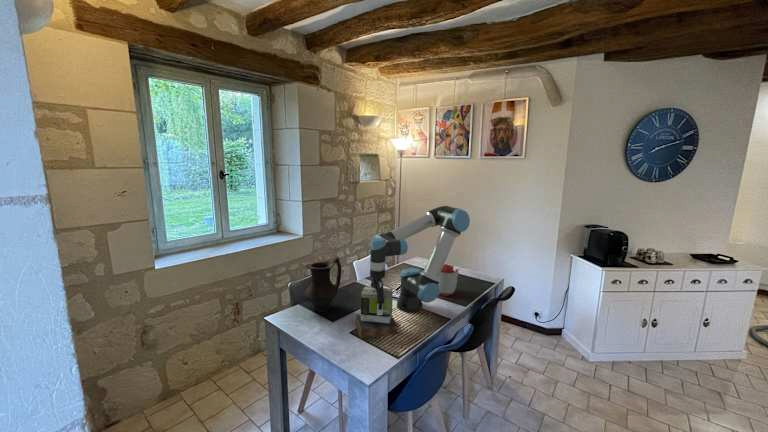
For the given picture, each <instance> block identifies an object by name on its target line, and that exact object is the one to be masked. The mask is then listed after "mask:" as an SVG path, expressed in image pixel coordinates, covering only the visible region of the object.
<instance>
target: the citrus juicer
mask: <svg viewBox="0 0 768 432" xmlns="http://www.w3.org/2000/svg"><path fill="white" fill-rule="evenodd" d="M458 276H460V274H459V269H455V270H454V266H453V265H451V264H447V263H446V264H445V263H444V265H443V268H442V270H441V272H440V274H439V277H438V278H439V284H438V286H439V290H440V292H439V295H438V296H441V295H443V296H442V297H450V296H449V295H451V296H453V295H454V293H455V291H456V288H457V284H458ZM452 294H453V295H452Z"/></svg>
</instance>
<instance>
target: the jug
mask: <svg viewBox="0 0 768 432" xmlns="http://www.w3.org/2000/svg"><path fill="white" fill-rule="evenodd" d="M335 265H337V273H336V282H335V283H334V284H333V283H332V281H331V270H332V268H333V267H334V266H335ZM305 267H306V269H309V270H310V273H311V283H310V285H309V286H308V287H307V288H306V289H305V292H304V296H305V298H306V299H307V300H308V301H309V302H310V303H311V310H312V311H314V312H318V313H322V312H327V311H329V310H330V309H331V308H332V305H331V303H332V301H333V300H334V299H335V298H336V297H337V295H338V289H339V288H340V285H341V280H342V279H341V278H342V265H341V262H340V258H339V256H336V257H334V259H332V260H327V259H326V260H324V259H322V260H320V259H319V260H314V261H311V262H308V263H307V264H306V265H305Z"/></svg>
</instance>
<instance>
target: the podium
mask: <svg viewBox="0 0 768 432" xmlns="http://www.w3.org/2000/svg"><path fill="white" fill-rule="evenodd" d="M355 326H356V328H357V332H358V335H359V338H360V339H368V338H375V337H376V338H377V337H384V336H385V337H386V336H392V335H393V336H394V335H398V334H399V326H398V324H397V322H396V320H395V318H394V316H393V315H392V316H391V320H390V323H381V322H371V321H361V314H358V315H355Z"/></svg>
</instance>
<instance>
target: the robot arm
mask: <svg viewBox="0 0 768 432" xmlns="http://www.w3.org/2000/svg"><path fill="white" fill-rule="evenodd" d="M470 223H471V218H470V215H469V213H468V212H467V211H466V210H464V209H461V208H459V207H453V206H449V205H442V206H437V207H435V208H433V209H431V210H428V211H426V212H425V213H424V215H421V216H420V217H417V218H416V219H412V220H410V221H409V222H407V223H404V224H402V225H401V226H399V227H396V228H394V229H392V230H390V231H388V232H385V233H383V232H379V233H377V234H376V235H375V237H373V238H372V239H371V240H370V261H369V263H370V264H369V268H370V270H369V276H370V278H371V283H370V287H373V288H375V290H376V291H377V300H378V302H377V315H383V304H384V293H383V288H384V282H383V280H382V279H383V278H385V276H386V264H387V262H386V260H387V258H388V257H393V256H395V257H396V256H401V255H405V254H407V253H408V249H409V248H408V247H409V246H408V242H407V240H406V239H408V238H410V237H413V236H414V235H416V234H418V233H420V232H422V231H425V230H426V229H429V228H435V227H437V226H439V228H440V233H439V235H438V237H437V240H436V242H435V244H434V247H433V249H432V251H431V253H430V256H429V258H428V260H427V263H426V265H425V267H424V270H421V269H420V268H416V267H410V268H404V269H402V270H401V272H400V292H399V296H398V299H397V300H396V308H397V309H399V310H400V311H402V312H404V313H405V312H406V313H417V312H420V311H421V310H422V309H423V303H426V304H427V303H431V302H434V301H435V300H436V299H437V298H438V297H439V296H440V295H439V292H440V290H439V286H438V284H439V278H438V277H439V274H440V272H441V270H442V268H443V265H444V264H445V262H446V261H447V258H448V256H449V253H450V252H451V249H452V247H453V244H454V242H455V240H456V238H457V237H460V235H461V234H462V233H463V232H465V231H467V229H468V228H469V227H470ZM386 257H387V258H386Z"/></svg>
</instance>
